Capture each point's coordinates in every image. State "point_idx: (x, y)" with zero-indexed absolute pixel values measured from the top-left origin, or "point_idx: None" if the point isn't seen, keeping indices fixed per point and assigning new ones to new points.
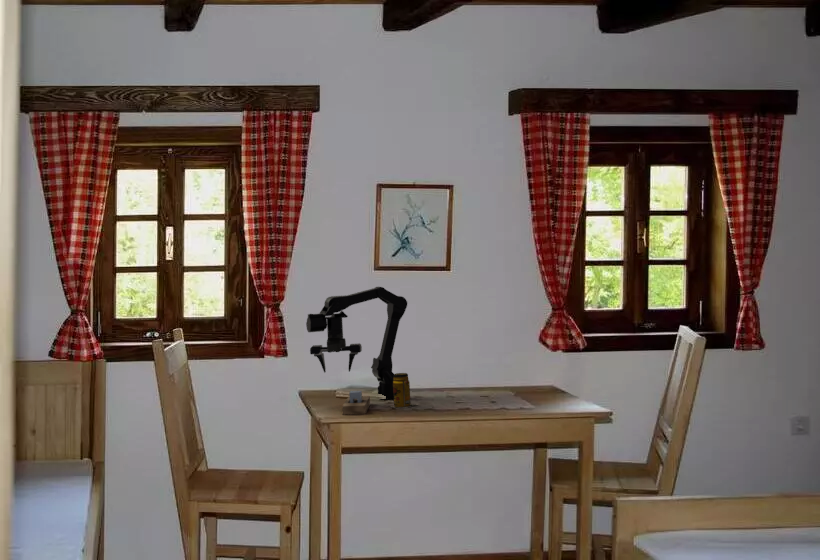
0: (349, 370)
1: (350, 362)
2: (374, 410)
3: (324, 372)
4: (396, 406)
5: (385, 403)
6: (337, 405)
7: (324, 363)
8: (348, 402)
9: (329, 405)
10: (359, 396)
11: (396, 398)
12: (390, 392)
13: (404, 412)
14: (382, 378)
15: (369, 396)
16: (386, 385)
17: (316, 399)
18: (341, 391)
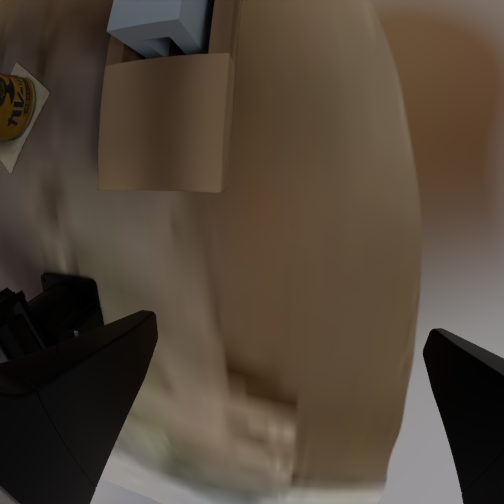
0: (141, 312)
1: (65, 352)
2: (106, 21)
3: (437, 330)
4: (29, 83)
5: (62, 188)
6: (291, 188)
7: (467, 415)
8: (213, 22)
9: (336, 203)
10: None
11: (6, 76)
12: (43, 293)
13: (31, 4)
14: (17, 315)
15: (98, 173)
16: (33, 308)
17: (380, 377)
18: (274, 472)
